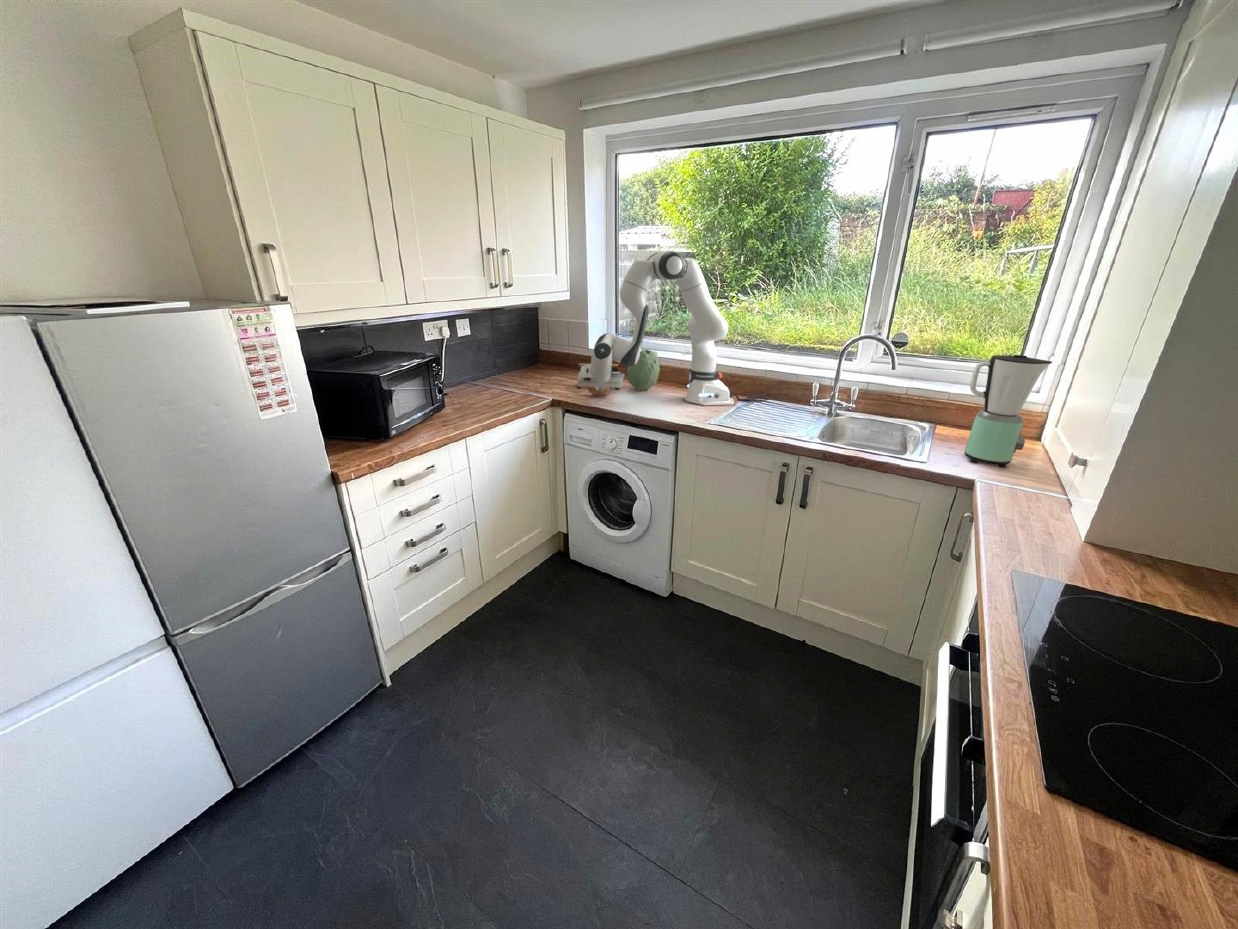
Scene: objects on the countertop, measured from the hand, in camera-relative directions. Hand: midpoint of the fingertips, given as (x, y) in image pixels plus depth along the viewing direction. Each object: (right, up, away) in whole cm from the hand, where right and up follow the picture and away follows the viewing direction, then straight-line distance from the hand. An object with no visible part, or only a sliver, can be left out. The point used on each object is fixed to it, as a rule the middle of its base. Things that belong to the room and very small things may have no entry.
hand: (599, 389), depth 227 cm
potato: (-1, -2, +8) cm, 8 cm away
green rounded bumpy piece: (+20, +3, +22) cm, 30 cm away
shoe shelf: (-2, +5, +25) cm, 25 cm away
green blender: (+131, -33, -60) cm, 148 cm away
